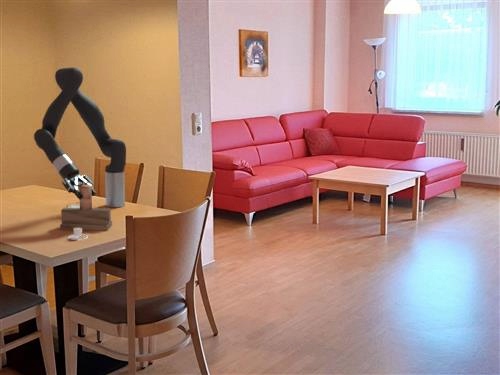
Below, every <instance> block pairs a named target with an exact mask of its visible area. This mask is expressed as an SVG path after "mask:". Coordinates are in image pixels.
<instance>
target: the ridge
mask: <svg viewBox="0 0 500 375" xmlns="http://www.w3.org/2000/svg"><path fill="white" fill-rule="evenodd" d="M111 209H112V208H95V207H92V210H80V208H68V207H63V208H61V209H60V211H61V213H60V214H61V224H59V225H60V226H59V230H60V231H63V230H64V231H69V230H70V231H74V228H82V231H109V230H108V229H110V228H111V227H112V226H113V220H112V217H111V216H112V215H111Z"/></svg>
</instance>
